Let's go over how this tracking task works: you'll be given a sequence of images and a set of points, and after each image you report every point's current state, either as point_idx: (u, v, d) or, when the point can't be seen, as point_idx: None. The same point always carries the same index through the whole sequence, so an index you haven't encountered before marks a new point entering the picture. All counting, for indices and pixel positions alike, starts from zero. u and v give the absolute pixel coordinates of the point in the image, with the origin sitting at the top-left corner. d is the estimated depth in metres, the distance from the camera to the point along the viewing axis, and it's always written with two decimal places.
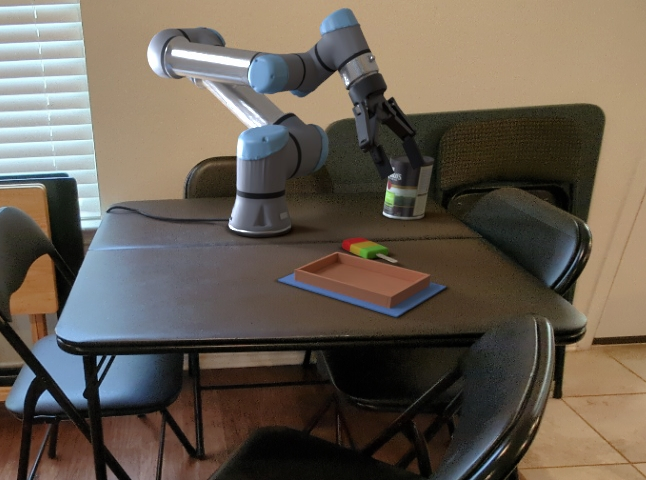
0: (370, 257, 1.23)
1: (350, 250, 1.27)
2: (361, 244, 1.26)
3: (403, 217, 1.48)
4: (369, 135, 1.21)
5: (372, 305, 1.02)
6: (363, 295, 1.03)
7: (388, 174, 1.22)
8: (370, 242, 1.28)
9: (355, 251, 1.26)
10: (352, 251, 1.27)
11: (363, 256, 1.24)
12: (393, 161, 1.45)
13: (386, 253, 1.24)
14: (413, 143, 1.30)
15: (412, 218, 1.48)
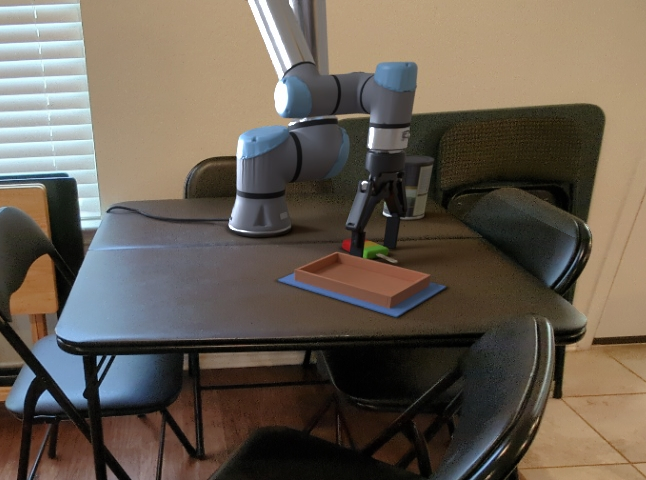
0: (370, 257, 1.23)
1: None
2: None
3: None
4: (359, 222, 1.14)
5: (372, 305, 1.02)
6: (363, 295, 1.03)
7: None
8: (370, 242, 1.28)
9: None
10: None
11: (363, 256, 1.24)
12: None
13: (386, 253, 1.24)
14: (396, 225, 1.25)
15: (412, 218, 1.48)
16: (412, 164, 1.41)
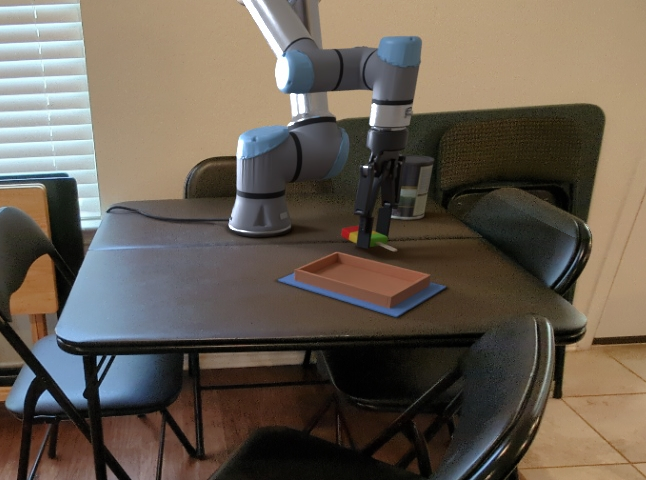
0: None
1: (349, 238, 1.26)
2: None
3: (403, 217, 1.48)
4: (367, 207, 1.15)
5: (372, 305, 1.02)
6: (363, 295, 1.03)
7: (363, 246, 1.22)
8: None
9: (354, 239, 1.25)
10: (351, 239, 1.26)
11: None
12: None
13: (385, 241, 1.23)
14: (388, 216, 1.23)
15: (412, 218, 1.48)
16: (412, 164, 1.41)
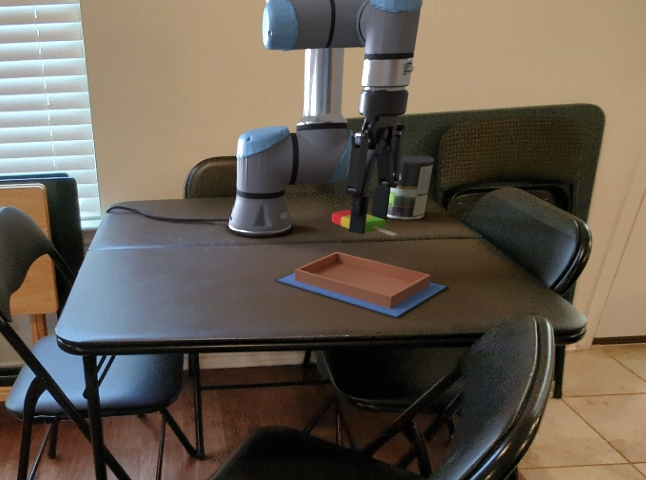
0: None
1: (341, 223, 1.08)
2: None
3: (403, 217, 1.48)
4: (360, 184, 0.97)
5: (372, 305, 1.02)
6: (363, 295, 1.03)
7: (357, 231, 1.03)
8: None
9: (346, 224, 1.07)
10: (343, 224, 1.08)
11: None
12: None
13: (383, 226, 1.05)
14: (386, 197, 1.05)
15: (412, 218, 1.48)
16: (412, 164, 1.41)
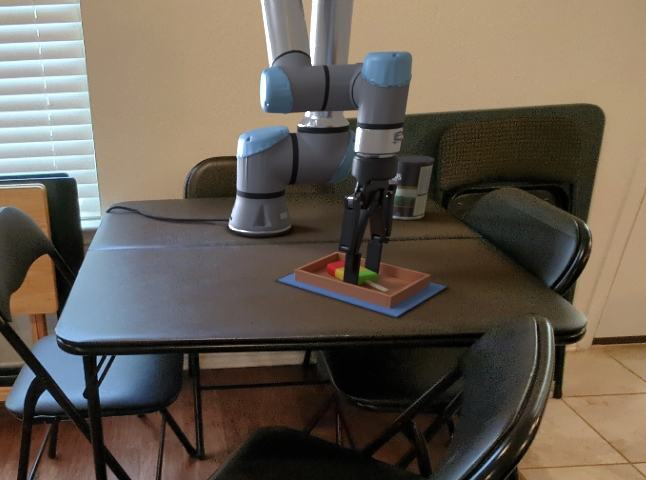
0: None
1: (335, 275, 1.13)
2: None
3: (403, 217, 1.48)
4: (353, 243, 1.02)
5: (372, 305, 1.02)
6: (363, 295, 1.03)
7: None
8: None
9: (340, 276, 1.11)
10: (337, 276, 1.12)
11: None
12: None
13: (375, 279, 1.10)
14: (378, 252, 1.10)
15: (412, 218, 1.48)
16: (412, 164, 1.41)
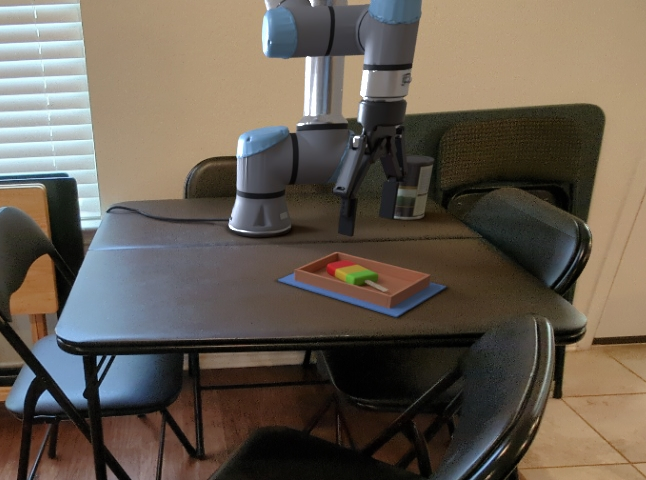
0: (357, 284, 1.09)
1: (335, 275, 1.13)
2: (348, 269, 1.12)
3: (403, 217, 1.48)
4: (350, 186, 0.96)
5: (372, 305, 1.02)
6: (363, 295, 1.03)
7: (346, 234, 1.02)
8: (357, 266, 1.13)
9: (340, 276, 1.11)
10: (337, 276, 1.12)
11: (349, 283, 1.09)
12: None
13: (375, 279, 1.10)
14: (394, 191, 1.07)
15: (412, 218, 1.48)
16: (412, 164, 1.41)
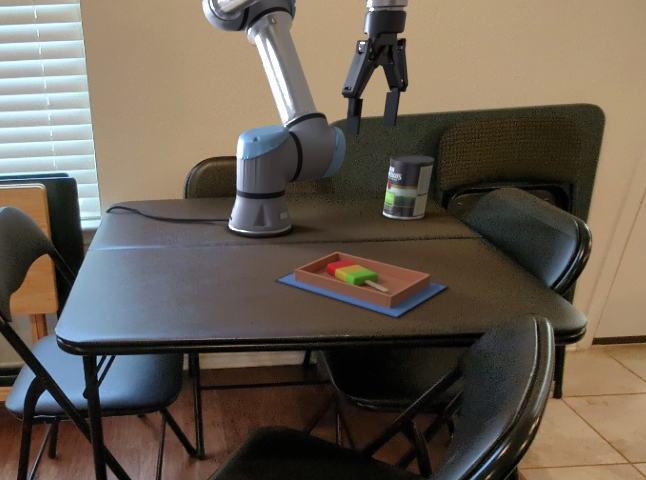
0: (357, 284, 1.09)
1: (335, 275, 1.13)
2: (348, 269, 1.12)
3: (403, 217, 1.48)
4: (356, 85, 1.10)
5: (372, 305, 1.02)
6: (363, 295, 1.03)
7: (353, 132, 1.16)
8: (357, 266, 1.13)
9: (340, 276, 1.11)
10: (337, 276, 1.12)
11: (349, 283, 1.09)
12: (393, 161, 1.45)
13: (375, 279, 1.10)
14: (396, 100, 1.21)
15: (412, 218, 1.48)
16: (412, 164, 1.41)
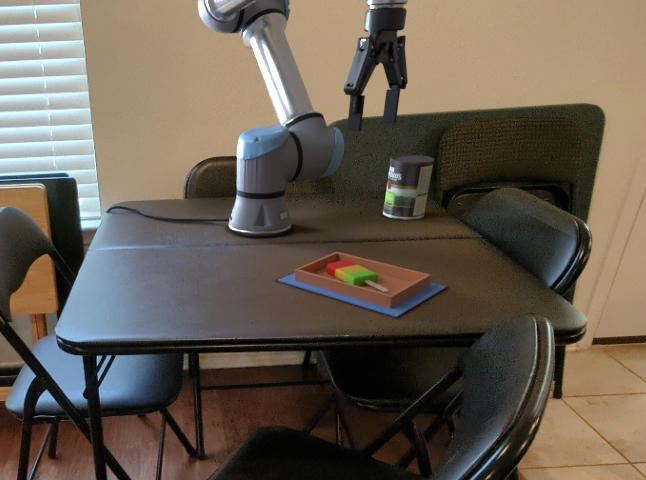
0: (357, 284, 1.09)
1: (335, 275, 1.13)
2: (348, 269, 1.12)
3: (403, 217, 1.48)
4: (358, 82, 1.11)
5: (372, 305, 1.02)
6: (363, 295, 1.03)
7: (355, 129, 1.17)
8: (357, 266, 1.13)
9: (340, 276, 1.11)
10: (337, 276, 1.12)
11: (349, 283, 1.09)
12: (393, 161, 1.45)
13: (375, 279, 1.10)
14: (396, 97, 1.22)
15: (412, 218, 1.48)
16: (412, 164, 1.41)
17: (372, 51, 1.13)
